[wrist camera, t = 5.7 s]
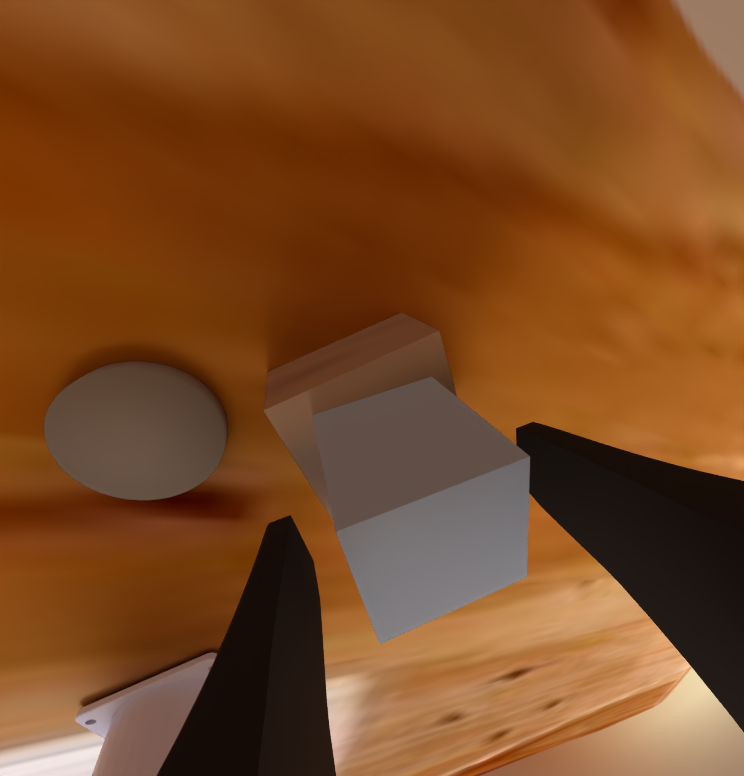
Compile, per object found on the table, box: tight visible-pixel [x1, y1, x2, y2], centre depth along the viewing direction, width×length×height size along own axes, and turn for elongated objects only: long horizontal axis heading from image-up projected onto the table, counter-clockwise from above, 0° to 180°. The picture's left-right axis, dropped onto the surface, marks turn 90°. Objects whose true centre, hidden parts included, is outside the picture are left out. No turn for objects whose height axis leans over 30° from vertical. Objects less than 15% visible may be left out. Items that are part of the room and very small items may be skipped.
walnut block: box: [263, 312, 457, 520], centre depth 14 cm, size 6×6×4 cm
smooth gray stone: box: [44, 361, 228, 500], centre depth 13 cm, size 6×6×1 cm
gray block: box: [312, 377, 530, 644], centre depth 10 cm, size 4×4×5 cm
